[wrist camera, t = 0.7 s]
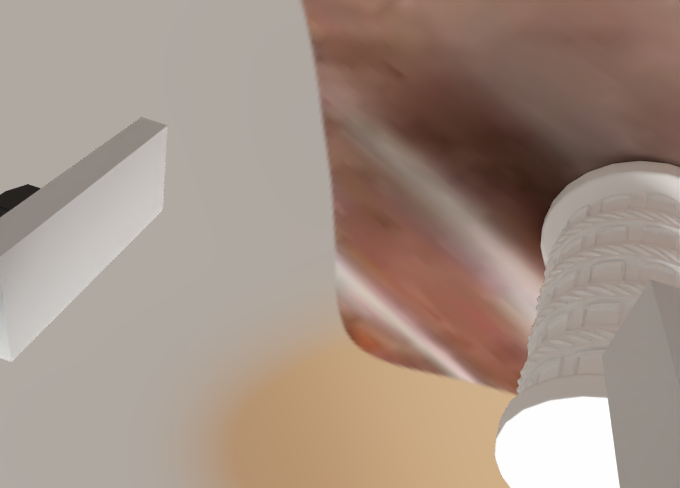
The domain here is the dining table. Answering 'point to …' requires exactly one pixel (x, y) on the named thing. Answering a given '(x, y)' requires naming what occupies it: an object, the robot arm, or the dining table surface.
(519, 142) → the dining table surface
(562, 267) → the decorative container
